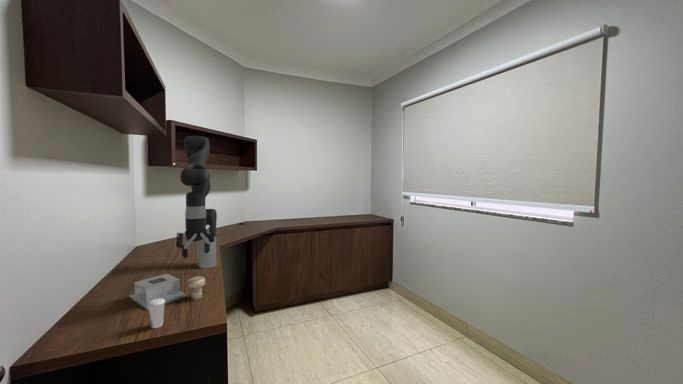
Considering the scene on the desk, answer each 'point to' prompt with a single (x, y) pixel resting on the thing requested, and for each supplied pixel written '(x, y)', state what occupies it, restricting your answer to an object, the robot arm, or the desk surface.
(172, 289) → the block
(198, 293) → the beech pin
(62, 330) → the desk surface
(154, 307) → the milkshake
